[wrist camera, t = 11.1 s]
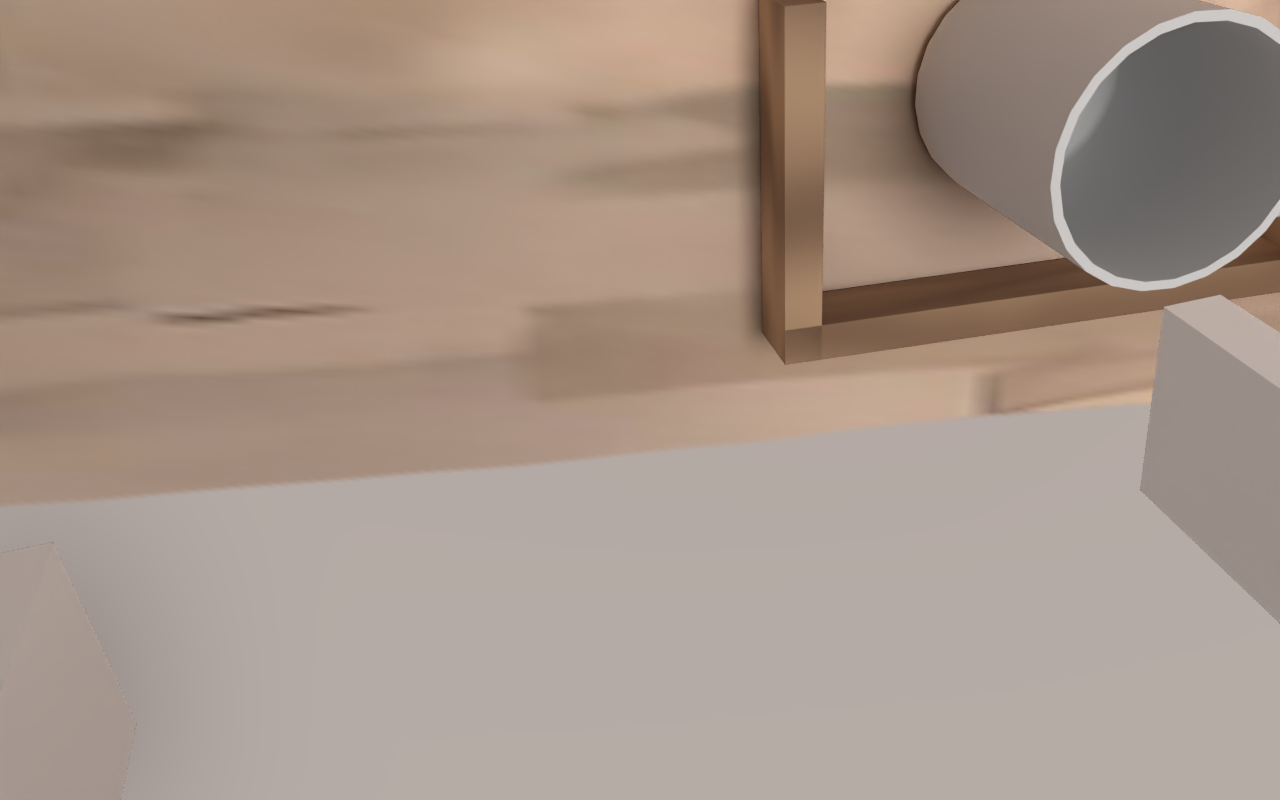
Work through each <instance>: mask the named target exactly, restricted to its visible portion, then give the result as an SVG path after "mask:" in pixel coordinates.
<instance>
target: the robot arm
mask: <svg viewBox="0 0 1280 800" xmlns="http://www.w3.org/2000/svg"><path fill="white" fill-rule="evenodd" d="M1140 490H1141V491H1142V492H1143V493H1144V494H1145V495H1146V496H1147V497H1148V498H1149V499H1150V500H1151V501H1152V502H1153V503H1154V504H1155V505H1156V506H1157V507H1158V508H1159V509H1160V510H1161V511H1163V512H1164V513H1165V514H1166V515H1167V516H1168V517H1169V518H1170V519H1171V520H1172V521H1173V522H1174V523H1175V524H1176V525H1177V526H1178V527H1179V528H1180V529H1181V530H1182V531H1183V532H1185V533H1186V534H1187V535H1188V536H1189V537H1190V538H1191V539H1192V540H1193V541H1194V542H1195V543H1196V544H1197V545H1198V546H1199V547H1200V548H1201V549H1202V550H1203V551H1204V552H1205V553H1207V554H1208V555H1209V556H1210V557H1211V558H1212V559H1213V560H1214V561H1215V562H1216V563H1217V564H1218V565H1219V566H1220V567H1221V568H1222V569H1223V570H1224V571H1225V572H1226V573H1227V574H1229V575H1230V576H1231V577H1232V578H1233V579H1234V580H1235V581H1236V582H1237V583H1238V584H1239V585H1240V586H1241V587H1242V588H1243V589H1244V590H1245V591H1246V592H1247V593H1248V594H1249V595H1250V596H1251V597H1253V598H1254V599H1255V600H1256V601H1257V602H1258V603H1259V604H1260V605H1261V606H1262V607H1263V608H1264V609H1265V610H1266V611H1267V612H1268V613H1269V614H1270V615H1271V616H1272V617H1274V618H1275V619H1276V620H1277V621H1278V622H1279V623H1280V333H1279V332H1278V331H1276V330H1275V329H1273V328H1271V327H1270V326H1268V325H1267V324H1265V323H1264V322H1262V321H1261V320H1259V319H1258V318H1256V317H1254V316H1253V315H1251V314H1250V313H1248V312H1247V311H1245V310H1244V309H1242V308H1240V307H1239V306H1237V305H1236V304H1234V303H1233V302H1231V301H1230V300H1228V299H1227V298H1225V297H1223V296H1222V295H1217V296H1212V297H1207V298H1203V299H1198V300H1193V301H1188V302H1184V303H1179V304H1174V305H1170V306H1165V307H1164V309H1163V317H1162V325H1161V333H1160V340H1159V348H1158V356H1157V363H1156V371H1155V379H1154V386H1153V394H1152V402H1151V410H1150V417H1149V425H1148V432H1147V440H1146V448H1145V456H1144V463H1143V471H1142V479H1141V486H1140ZM135 729H136V722H135V719H134V717H133V716H132V713H131V711H130V709H129V706H128V704H127V702H126V700H125V698H124V696H123V693H122V692H121V689H120V687H119V685H118V682H117V680H116V678H115V676H114V674H113V672H112V669H111V667H110V665H109V663H108V661H107V659H106V656H105V655H104V652H103V650H102V648H101V646H100V644H99V641H98V639H97V637H96V635H95V632H94V631H93V628H92V626H91V624H90V622H89V619H88V617H87V615H86V613H85V611H84V609H83V606H82V604H81V602H80V600H79V598H78V596H77V593H76V591H75V589H74V587H73V585H72V583H71V581H70V578H69V576H68V574H67V572H66V569H65V567H64V565H63V563H62V561H61V559H60V556H59V554H58V552H57V550H56V548H55V545H54V543H53V542H50V543H46V544H41V545H37V546H32V547H27V548H22V549H17V550H13V551H8V552H3V553H0V800H121V798H122V793H123V788H124V784H125V779H126V773H127V769H128V764H129V759H130V753H131V749H132V744H133V738H134V734H135Z"/></svg>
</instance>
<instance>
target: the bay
mask: <svg viewBox="0 0 1280 800" xmlns="http://www.w3.org/2000/svg"><path fill="white" fill-rule="evenodd" d="M825 65H826V2H825V1H823V0H759V68H760V151H761V235H762V319H763V334H764V336H765V337H766V338H767V340H768V341H769V343H770V344H771V345H772V347H773V348H774V350H775V351H776V352H777V354H778V355H779V357H780V358H781V359H782V361H783V362H784V364H785V365H787V364H794V363H801V362H808V361H814V360H821V359H828V358H835V357H842V356H849V355H855V354H862V353H869V352H876V351H883V350H889V349H896V348H903V347H910V346H917V345H923V344H930V343H937V342H944V341H951V340H957V339H964V338H971V337H978V336H985V335H991V334H998V333H1005V332H1012V331H1019V330H1025V329H1032V328H1039V327H1046V326H1053V325H1059V324H1066V323H1073V322H1080V321H1087V320H1093V319H1100V318H1107V317H1114V316H1121V315H1127V314H1134V313H1141V312H1148V311H1155V310H1161V309H1164V307H1165V306H1170V305H1174V304H1179V303H1184V302H1188V301H1193V300H1198V299H1203V298H1207V297H1212V296H1217V295H1222V296H1223V297H1225V298H1227V299H1228V300H1230V299H1236V298H1243V297H1250V296H1257V295H1264V294H1270V293H1277V292H1280V216H1279V217H1276V218H1275V219H1274V221H1273V222H1272V223H1271V225H1270V226H1269V227H1268V229H1267V230H1266V231H1265V232H1264V233H1263V234H1262V235H1261V236H1260V237H1259V238H1258V239H1257V240H1256V241H1254V242H1253V243H1252V244H1251V245H1250V246H1249V247H1248V248H1247V249H1246V250H1245V251H1244V252H1243V253H1242V254H1240V255H1239V256H1238V257H1237V258H1235V259H1234V260H1232V261H1230V262H1229V263H1227V264H1226V265H1224V266H1222V267H1221V268H1219V269H1218V270H1216V271H1214V272H1213V273H1211V274H1209V275H1208V276H1206V277H1203V278H1200V279H1198V280H1195V281H1192V282H1189V283H1186V284H1184V285H1181V286H1178V287H1175V288H1169V289H1159V290H1149V291H1138V290H1132V289H1126V288H1121V287H1115V286H1111V285H1109V284H1107V283H1106V282H1104V281H1102V280H1100V279H1098V278H1096V277H1095V276H1093V275H1091V274H1089V273H1087V272H1086V271H1084V270H1083V269H1081V268H1080V267H1078V266H1077V265H1075V264H1074V263H1073V262H1071V261H1070V260H1068V259H1067V258H1064V259H1056V260H1049V261H1042V262H1035V263H1028V264H1020V265H1013V266H1006V267H999V268H991V269H984V270H977V271H970V272H962V273H955V274H948V275H941V276H933V277H926V278H919V279H912V280H905V281H897V282H890V283H883V284H876V285H868V286H861V287H854V288H847V289H839V290H832V291H825V292H822V279H823V208H824V137H825Z"/></svg>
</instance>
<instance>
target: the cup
mask: <svg viewBox="0 0 1280 800" xmlns="http://www.w3.org/2000/svg"><path fill="white" fill-rule="evenodd" d="M915 108H916V114H917V120H918V126H919V132H920V135H921V137H922V139H923V141H924V143H925V145H926V147H927V149H928V152H929V154H930V156H931V157H932V159H933V160H934V161H935V162H936V163H937V164H938V165H939V166H940V167H941V168H942V169H943V170H944V171H945V172H946V173H947V175H948V176H950V177H951V178H952V179H953V180H954V181H955V182H956V183H957V184H959V185H960V186H962V187H963V188H965V189H966V190H968V191H969V192H970V193H972V194H973V195H975V196H976V197H978V198H979V199H981V200H982V201H984V202H985V203H986V204H988V205H989V206H991V207H992V208H994V209H995V210H997V211H998V212H1000V213H1001V214H1003V215H1004V216H1005V217H1007V218H1008V219H1010V220H1011V221H1013V222H1014V223H1016V224H1017V225H1019V226H1020V227H1021V228H1023V229H1024V230H1026V231H1027V232H1029V233H1030V234H1032V235H1033V236H1035V237H1036V238H1038V239H1039V240H1040V241H1042V242H1043V243H1045V244H1046V245H1048V246H1049V247H1051V248H1052V249H1054V250H1055V251H1057V252H1058V253H1059V254H1061V255H1062V256H1064V257H1065V258H1067V259H1068V260H1070V261H1071V262H1073V263H1074V264H1075V265H1077V266H1078V267H1080V268H1081V269H1083V270H1084V271H1086V272H1087V273H1089V274H1091V275H1093V276H1095V277H1096V278H1098V279H1100V280H1102V281H1104V282H1106V283H1107V284H1109V285H1111V286H1115V287H1121V288H1126V289H1132V290H1138V291H1149V290H1159V289H1169V288H1175V287H1178V286H1181V285H1184V284H1186V283H1189V282H1192V281H1195V280H1198V279H1200V278H1203V277H1206V276H1208V275H1209V274H1211V273H1213V272H1214V271H1216V270H1218V269H1219V268H1221V267H1222V266H1224V265H1226V264H1227V263H1229V262H1230V261H1232V260H1234V259H1235V258H1237V257H1238V256H1239V255H1240V254H1242V253H1243V252H1244V251H1245V250H1246V249H1247V248H1248V247H1249V246H1250V245H1251V244H1252V243H1253V242H1254V241H1256V240H1257V239H1258V238H1259V237H1260V236H1261V235H1262V234H1263V233H1264V232H1265V231H1266V230H1267V229H1268V227H1269V226H1270V225H1271V223H1272V222H1273V221H1274V219H1275V218H1276V217H1279V216H1280V29H1278V28H1277V27H1276V26H1274V25H1273V24H1271V23H1270V22H1269V21H1267V20H1266V19H1264V18H1263V17H1259V16H1256V15H1252V14H1248V13H1244V12H1240V11H1237V10H1233V9H1229V8H1225V7H1222V6H1218V5H1214V4H1210V3H1207V2H1203V1H1199V0H960V1H959V2H958V3H957V4H956V5H955V6H954V7H953V8H952V9H951V10H950V11H949V12H948V13H947V14H946V16H945V17H944V18H943V20H942V22H941V23H940V25H939V27H938V28H937V30H936V32H935V33H934V35H933V37H932V38H931V40H930V42H929V43H928V45H927V48H926V51H925V54H924V58H923V61H922V64H921V67H920V70H919V73H918V78H917V89H916V100H915Z"/></svg>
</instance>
